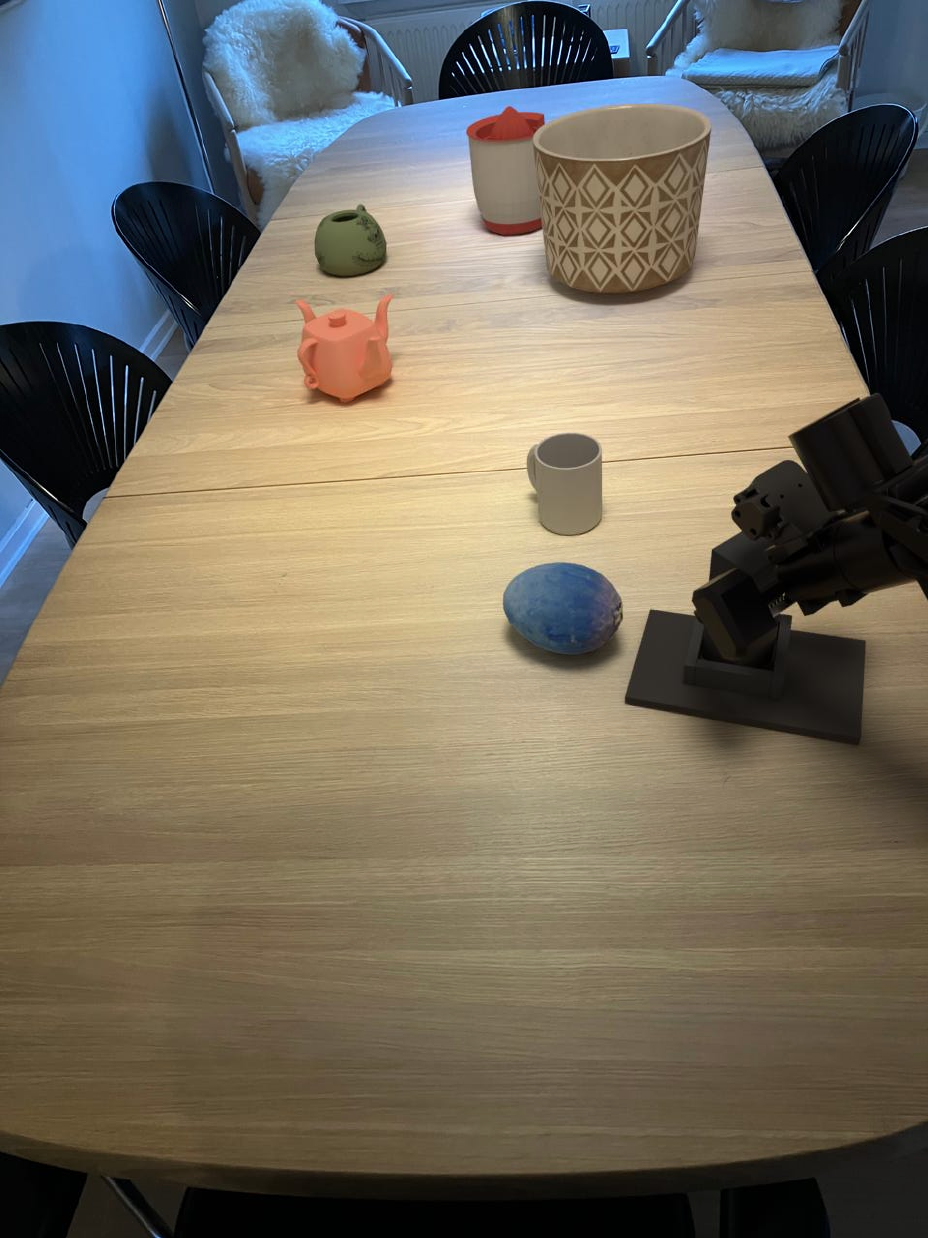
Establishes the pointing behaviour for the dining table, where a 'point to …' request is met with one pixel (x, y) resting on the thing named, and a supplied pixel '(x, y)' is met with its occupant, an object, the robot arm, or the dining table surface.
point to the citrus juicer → (506, 171)
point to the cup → (567, 482)
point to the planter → (621, 194)
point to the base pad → (753, 680)
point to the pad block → (756, 564)
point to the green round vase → (349, 242)
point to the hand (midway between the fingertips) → (734, 592)
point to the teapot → (345, 350)
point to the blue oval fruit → (563, 607)
